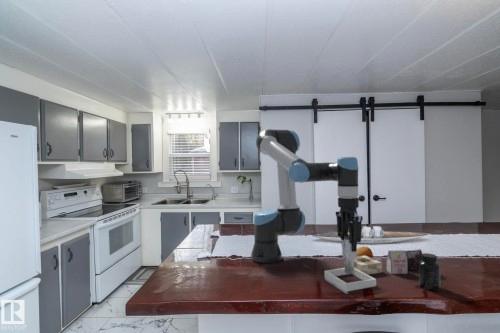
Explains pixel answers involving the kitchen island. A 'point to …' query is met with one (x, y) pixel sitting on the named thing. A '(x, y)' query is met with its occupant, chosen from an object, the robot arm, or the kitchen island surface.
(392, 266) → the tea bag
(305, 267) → the kitchen island surface
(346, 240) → the pin
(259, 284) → the kitchen island surface
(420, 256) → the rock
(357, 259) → the pin block
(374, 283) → the grey square frame
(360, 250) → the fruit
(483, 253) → the kitchen island surface
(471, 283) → the kitchen island surface
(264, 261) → the robot arm
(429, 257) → the supplement bottle
